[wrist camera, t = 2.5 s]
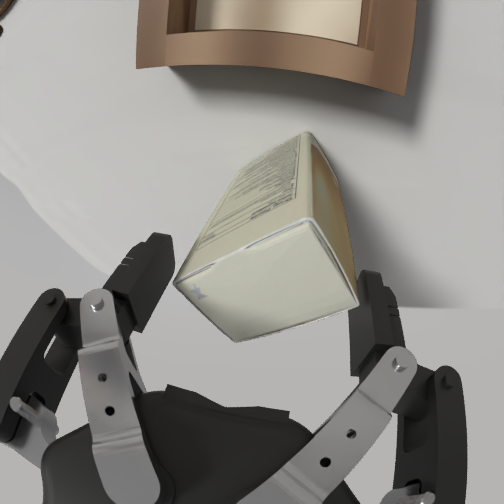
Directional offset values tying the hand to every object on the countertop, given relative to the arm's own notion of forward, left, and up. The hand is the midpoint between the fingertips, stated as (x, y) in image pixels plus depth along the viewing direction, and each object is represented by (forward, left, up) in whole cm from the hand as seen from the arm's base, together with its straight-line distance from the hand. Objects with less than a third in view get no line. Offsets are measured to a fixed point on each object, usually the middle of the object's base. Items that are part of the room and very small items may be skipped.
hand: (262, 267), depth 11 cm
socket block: (+2, -15, -10) cm, 18 cm away
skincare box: (0, 0, -11) cm, 11 cm away
